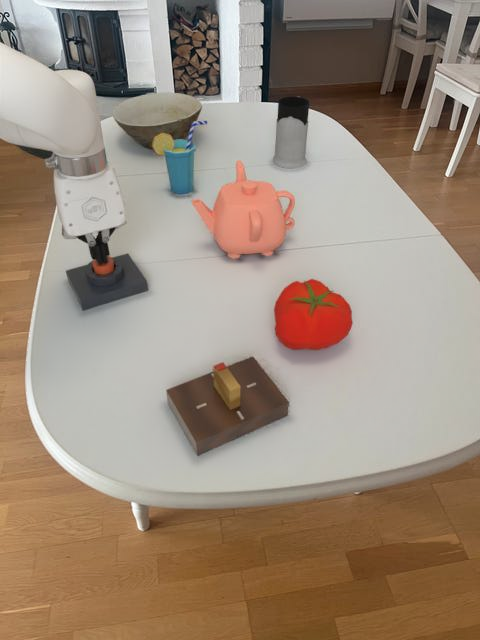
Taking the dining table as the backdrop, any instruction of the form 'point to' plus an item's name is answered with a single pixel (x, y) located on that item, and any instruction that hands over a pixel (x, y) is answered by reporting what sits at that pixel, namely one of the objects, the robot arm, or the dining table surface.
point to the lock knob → (226, 386)
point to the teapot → (247, 216)
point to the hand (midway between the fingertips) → (101, 260)
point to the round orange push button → (103, 267)
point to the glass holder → (291, 132)
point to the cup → (178, 159)
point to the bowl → (157, 116)
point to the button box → (106, 282)
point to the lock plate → (214, 415)
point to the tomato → (311, 316)
